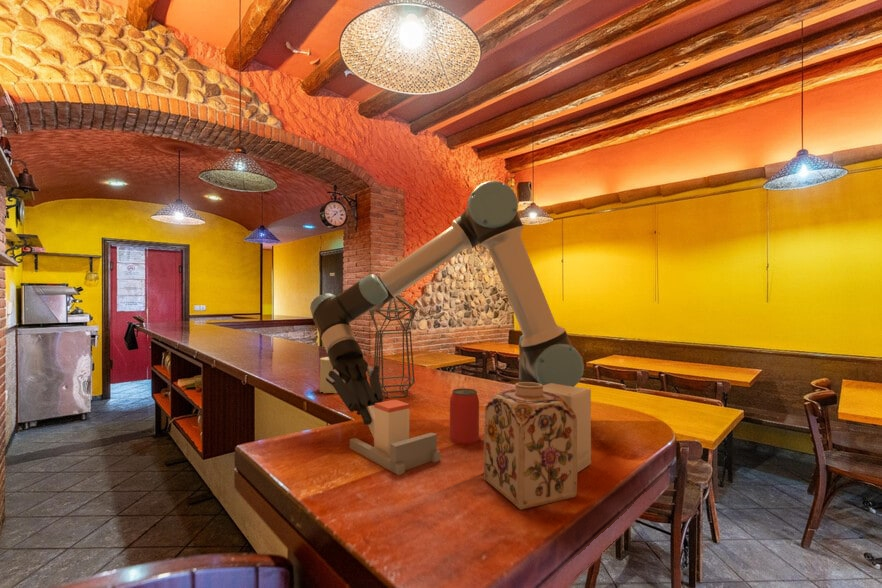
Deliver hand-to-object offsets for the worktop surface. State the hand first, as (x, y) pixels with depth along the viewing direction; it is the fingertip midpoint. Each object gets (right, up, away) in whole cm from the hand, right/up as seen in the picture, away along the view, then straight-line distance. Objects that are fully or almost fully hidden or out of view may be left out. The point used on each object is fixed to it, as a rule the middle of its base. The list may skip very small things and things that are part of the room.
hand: (380, 436), depth 81 cm
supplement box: (+36, -5, -3) cm, 37 cm away
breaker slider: (+3, -2, -3) cm, 5 cm away
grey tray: (+4, -4, -4) cm, 7 cm away
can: (-26, -5, +58) cm, 64 cm away
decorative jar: (+28, -4, -14) cm, 31 cm away
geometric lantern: (-4, -5, +53) cm, 53 cm away
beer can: (+18, -5, +7) cm, 19 cm away
